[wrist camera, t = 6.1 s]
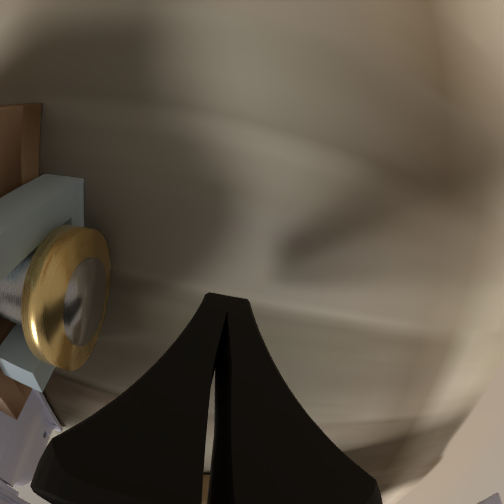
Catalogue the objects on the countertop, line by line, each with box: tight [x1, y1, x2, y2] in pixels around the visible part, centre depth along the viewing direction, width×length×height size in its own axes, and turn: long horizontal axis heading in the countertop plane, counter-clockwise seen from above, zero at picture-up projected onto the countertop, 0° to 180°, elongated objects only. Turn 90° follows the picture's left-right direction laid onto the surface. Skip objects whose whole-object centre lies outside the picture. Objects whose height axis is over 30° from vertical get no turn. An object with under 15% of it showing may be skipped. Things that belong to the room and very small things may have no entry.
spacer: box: [0, 174, 84, 392], centre depth 9 cm, size 6×2×5 cm, turn 168°
